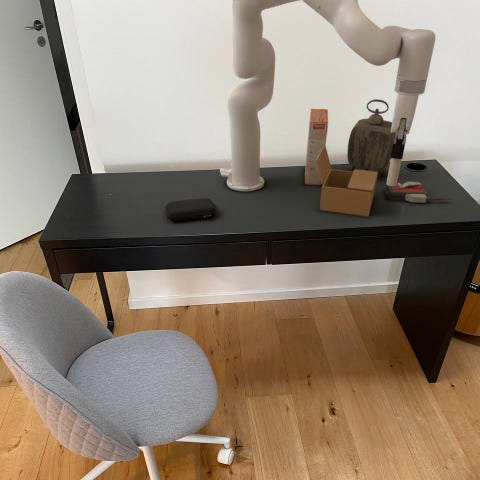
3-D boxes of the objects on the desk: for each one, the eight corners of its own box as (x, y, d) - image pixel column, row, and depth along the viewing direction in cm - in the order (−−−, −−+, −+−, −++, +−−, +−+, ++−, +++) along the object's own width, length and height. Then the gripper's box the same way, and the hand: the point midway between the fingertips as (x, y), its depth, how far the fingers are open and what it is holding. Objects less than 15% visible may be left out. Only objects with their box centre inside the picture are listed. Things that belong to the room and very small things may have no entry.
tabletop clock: (390, 174, 173) (404, 98, 157) (384, 184, 166) (399, 106, 150) (349, 167, 177) (359, 93, 162) (342, 177, 171) (352, 101, 155)
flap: (322, 184, 147) (321, 184, 147) (330, 166, 157) (329, 166, 157) (316, 160, 143) (315, 160, 143) (325, 144, 153) (324, 144, 153)
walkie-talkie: (386, 203, 155) (450, 204, 155) (388, 190, 153) (454, 191, 152) (381, 191, 162) (443, 192, 161) (383, 178, 159) (446, 179, 159)
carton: (319, 210, 152) (322, 183, 146) (327, 192, 162) (330, 166, 157) (368, 217, 148) (373, 190, 143) (373, 198, 158) (378, 171, 153)
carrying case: (169, 225, 145) (218, 219, 148) (168, 216, 143) (218, 210, 146) (164, 209, 153) (211, 204, 156) (163, 200, 151) (211, 195, 154)
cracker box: (322, 186, 166) (328, 122, 152) (304, 185, 166) (309, 121, 153) (322, 169, 176) (328, 108, 163) (305, 168, 177) (310, 107, 164)
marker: (385, 185, 143) (394, 136, 134) (386, 181, 146) (395, 133, 137) (396, 186, 143) (406, 137, 134) (397, 182, 145) (406, 134, 136)
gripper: (397, 76, 134) (385, 144, 146) (392, 92, 122) (380, 165, 134) (426, 78, 132) (412, 147, 144) (424, 95, 120) (408, 168, 132)
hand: (396, 155), depth 139 cm, fingers closed on marker, 3 cm apart
